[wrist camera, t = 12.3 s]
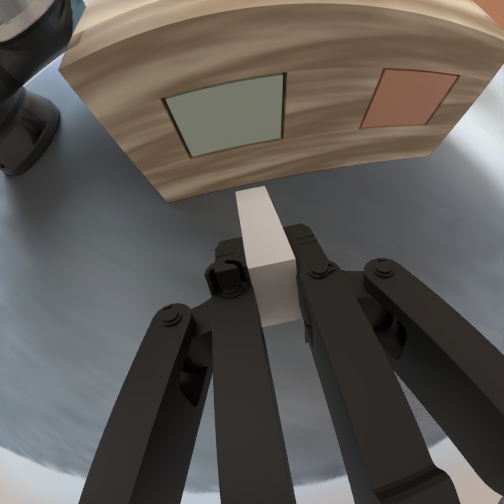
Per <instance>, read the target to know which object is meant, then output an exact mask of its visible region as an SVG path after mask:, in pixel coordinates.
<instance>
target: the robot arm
mask: <svg viewBox="0 0 504 504" xmlns="http://www.w3.org/2000/svg"><path fill="white" fill-rule="evenodd" d="M85 8H86V6H85V3H84V2H83V0H0V170H1V171H3V172H4V173H6V174H8V175H10V176H15V175H18V174H21V173H22V172H24V171H25V170H27V169H28V168H29V167H30V166H31V165H32V164H34V162H35V161H36V160H37V159H38V158H39V157H40V156H41V154H42V153H43V152H44V150H45V149H46V147H47V146H48V144H49V143H50V141H51V139H52V137H53V135H54V133H55V131H56V128H57V125H58V121H59V111H58V108H57V107H56V106H55V105H54V104H53V103H52V102H51V101H50V100H49V99H46V98H44V97H42V96H39V95H37V94H34V93H32V92H30V91H27V90H26V89H25V88H24V87H23V85H24V84H25V83H26V82H27V81H28V80H30V79H31V78H32V77H33V76H34V75H36V74H37V73H38V72H39V71H40V70H42V69H43V68H44V67H45V66H47V65H48V64H49V63H51V62H52V61H53V60H55V59H56V58H57V57H59V56H60V55H61V54H63V53H64V52H65V51H66V49H67V46H68V44H69V42H70V39H71V37H72V35H73V33H74V31H75V29H76V26H77V24H78V22H79V20H80V18H81V16H82V14H83V12H84V10H85ZM235 193H236V200H237V206H238V213H239V219H240V225H241V231H242V237H240V238H235V239H230V240H226V241H221V242H220V243H219V244H218V246H217V248H216V249H215V257H216V258H215V262H214V263H213V264H211V265H210V266H209V267H208V268H207V269H206V272H205V278H206V280H207V283H208V286H209V289H210V292H211V295H212V297H211V298H210V299H209V300H208V301H206V302H205V303H203V304H201V305H199V306H197V307H195V308H193V309H189V307H188V306H186V305H185V304H179V303H176V304H170V305H168V306H165V307H163V308H162V309H161V310H159V311H158V312H157V313H156V315H155V316H154V317H153V319H152V322H151V324H150V326H149V328H148V330H147V332H146V334H145V336H144V339H143V341H142V343H141V345H140V347H139V350H138V352H137V354H136V356H135V358H134V361H133V363H132V365H131V367H130V370H129V372H128V374H127V377H126V379H125V381H124V383H123V386H122V388H121V391H120V393H119V395H118V398H117V400H116V402H115V405H114V407H113V410H112V412H111V415H110V417H109V420H108V422H107V425H106V427H105V430H104V432H103V435H102V438H101V440H100V443H99V446H98V448H97V451H96V454H95V456H94V459H93V462H92V465H91V468H90V470H89V473H88V476H87V479H86V482H85V485H84V488H83V491H82V494H81V497H80V500H79V504H180V502H181V498H182V494H183V490H184V486H185V482H186V478H187V474H188V470H189V465H190V461H191V457H192V453H193V449H194V445H195V441H196V437H197V433H198V429H199V425H200V421H201V417H202V413H203V409H204V405H205V401H206V397H207V393H208V389H209V385H210V381H211V377H212V373H213V387H214V410H215V430H216V447H217V462H218V475H219V488H220V499H221V504H296V499H295V494H294V489H293V484H292V479H291V473H290V468H289V463H288V458H287V453H286V448H285V442H284V437H283V432H282V427H281V422H280V416H279V411H278V406H277V401H276V395H275V390H274V385H273V380H272V374H271V369H270V364H269V359H268V353H267V348H266V343H265V338H264V334H263V329H262V327H267V326H272V325H277V324H281V323H286V322H290V321H295V320H299V319H302V316H303V319H304V327H305V340H306V343H307V342H309V345H310V348H311V351H312V355H313V358H314V361H315V364H316V368H317V371H318V374H319V378H320V381H321V384H322V388H323V391H324V394H325V398H326V401H327V404H328V408H329V411H330V415H331V418H332V422H333V425H334V428H335V432H336V436H337V439H338V443H339V446H340V450H341V453H342V457H343V461H344V464H345V468H346V471H347V475H348V479H349V483H350V486H351V490H352V494H353V498H354V502H355V504H460V501H459V498H458V495H457V492H456V489H455V486H454V484H453V482H452V480H451V478H450V477H449V475H448V474H447V473H446V472H445V471H443V470H441V469H439V468H437V467H436V466H435V464H434V463H433V461H432V459H431V457H430V454H429V451H428V449H427V446H426V444H425V441H424V439H423V436H422V434H421V431H420V429H419V427H418V424H417V422H416V420H415V417H414V415H413V413H412V410H411V408H410V406H409V404H408V401H407V399H406V397H405V395H404V392H403V390H402V388H401V386H400V384H399V382H398V380H397V377H396V375H395V373H394V371H395V372H396V374H397V375H398V376H399V377H400V378H401V380H402V381H403V382H404V383H405V384H406V386H407V387H408V388H409V389H410V390H411V392H412V393H413V394H414V395H415V396H416V398H417V399H418V400H419V401H420V402H421V404H422V405H423V406H424V407H425V409H426V410H427V411H428V412H429V414H430V415H431V416H432V417H433V418H434V420H435V421H436V422H437V423H438V425H439V426H440V427H441V428H442V430H443V431H444V432H445V433H446V435H447V436H448V437H449V438H450V440H451V441H452V442H453V443H454V445H455V446H456V447H457V449H458V450H459V451H460V452H461V454H462V455H463V456H464V458H465V459H466V460H467V462H468V463H469V464H470V465H471V467H472V468H473V469H474V471H475V472H476V473H477V475H478V476H479V477H480V478H481V479H482V480H483V481H484V483H485V484H486V485H488V486H489V487H490V488H491V489H492V490H494V491H495V492H497V493H498V494H500V495H502V496H503V497H502V498H501V499H500V501H499V503H498V504H504V355H503V354H502V353H501V352H500V351H499V350H498V349H497V348H496V347H495V346H494V345H492V344H491V343H490V342H489V341H488V340H487V339H486V338H485V337H484V336H483V335H482V334H481V333H480V332H479V331H478V330H477V329H475V328H474V327H473V326H472V325H471V324H470V323H469V322H468V321H467V320H466V319H464V318H463V317H462V316H461V315H460V314H459V313H458V312H457V311H455V310H454V309H453V308H452V307H451V306H450V305H449V304H447V303H446V302H445V301H444V300H443V299H442V298H440V297H439V296H438V295H437V294H436V293H434V292H433V291H432V290H431V289H430V288H428V287H427V286H426V285H425V284H424V283H422V282H421V281H420V280H419V279H417V278H416V277H415V276H414V275H412V274H411V273H410V272H409V271H407V270H406V269H405V268H404V267H402V266H401V265H400V264H398V263H397V262H395V261H393V260H390V259H386V258H378V259H374V260H371V261H370V262H368V263H367V264H366V265H365V267H364V271H344V270H340V268H339V267H338V266H337V265H336V264H335V263H334V262H332V261H329V260H328V259H327V257H326V255H325V254H324V252H323V250H322V248H321V247H320V245H319V243H318V242H317V240H316V238H315V236H314V234H313V233H312V231H311V229H310V228H309V227H307V226H305V225H304V224H297V225H293V226H288V227H282V225H281V223H280V220H279V218H278V216H277V213H276V211H275V209H274V206H273V204H272V202H271V199H270V197H269V195H268V192H267V190H266V188H265V186H261V187H256V188H251V189H246V190H241V191H237V192H235ZM301 313H302V316H301ZM393 370H394V371H393Z"/></svg>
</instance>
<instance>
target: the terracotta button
mask: <svg viewBox="0 0 504 504" xmlns="http://www.w3.org/2000/svg"><path fill="white" fill-rule="evenodd" d="M456 78H457V75H456V74H449V73H442V72H434V71H425V70H413V69H399V68H383V71H382V73H381V76H380V78H379V81H378V83H377V86H376V88H375V91H374V93H373V96H372V98H371V100H370V103H369V105H368V108H367V110H366V112H365V115H364V117H363V119H362V122H361V124H360V126H361V128H363V127H375V126H389V125H409V124H425V123H426V122H427V120H428V119H429V118H430V116H431V115H432V113H433V112H434V110H435V109H436V108H437V106H438V105H439V103H440V102H441V100H442V99H443V97H444V96H445V94H446V93H447V91H448V90H449V88H450V87H451V85H452V84H453V82H454V81H455V79H456Z"/></svg>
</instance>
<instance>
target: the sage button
mask: <svg viewBox="0 0 504 504" xmlns="http://www.w3.org/2000/svg"><path fill="white" fill-rule="evenodd" d="M282 89H283V74H282V73H276V74H268V75H262V76H255V77H249V78H244V79H238V80H233V81H228V82H223V83H218V84H214V85H209V86H205V87H201V88H197V89H193V90H189V91H185V92H182V93H178V94H174V95H171V96H167V97H165V100H166V102H167V104H168V106H169V108H170V111H171V113H172V115H173V117H174V119H175V121H176V123H177V125H178V128H179V130H180V132H181V134H182V136H183V138H184V140H185V142H186V145H187V147H188V149H189V151H190V153H191V155H192V157H194V156H198V155H202V154H206V153H210V152H214V151H218V150H223V149H227V148H232V147H237V146H241V145H246V144H251V143H256V142H262V141H267V140H273V139H278V138H280V137H281V115H282Z"/></svg>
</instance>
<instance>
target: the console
mask: <svg viewBox="0 0 504 504" xmlns="http://www.w3.org/2000/svg"><path fill="white" fill-rule="evenodd" d="M503 64H504V31H503V30H502V29H501V28H500V27H499V26H498V25H497V24H496V23H495V22H494V21H493V20H492V19H491V18H490V17H489V16H488V15H487V14H486V13H485V12H484V11H483V10H482V9H481V8H480V7H479V6H478V5H477V4H475V3H474V2H473V1H472V0H93V1H91V2H89V3H88V5H87V7H86V8H85V10H84V12H83V14H82V16H81V18H80V20H79V22H78V24H77V26H76V29H75V31H74V33H73V35H72V37H71V39H70V42H69V44H68V46H67V49H66V51H65V54H64V56H63V59H62V61H61V64H60V67H59V69H58V71H59V72H60V73H61V75H62V76H63V77H64V78H65V80H66V81H67V82H68V83H69V85H70V86H71V87H72V89H73V90H74V91H75V92H76V94H77V95H78V96H79V97H80V99H81V100H82V101H83V102H84V104H85V105H86V106H87V107H88V109H89V110H90V111H91V112H92V113H93V115H94V116H95V117H96V118H97V120H98V121H99V122H100V123H101V125H102V126H103V127H104V128H105V129H106V131H107V132H108V133H109V134H110V135H111V137H112V138H113V139H114V140H115V142H116V143H117V144H118V145H119V146H120V148H121V149H122V150H123V151H124V152H125V153H126V155H127V156H128V157H129V158H130V159H131V161H132V162H133V163H134V164H135V165H136V167H137V168H138V169H139V170H140V171H141V172H142V174H143V175H144V176H145V177H146V178H147V179H148V181H149V182H150V183H151V184H152V185H153V186H154V188H155V189H156V190H157V191H158V192H159V193H160V194H161V196H162V197H163V198H164V199H165V200H166V201H167V203H169V202H173V201H177V200H181V199H185V198H189V197H193V196H197V195H201V194H205V193H209V192H214V191H218V190H222V189H227V188H231V187H236V186H241V185H245V184H250V183H255V182H260V181H265V180H270V179H275V178H280V177H285V176H291V175H296V174H302V173H308V172H313V171H319V170H326V169H332V168H338V167H345V166H352V165H359V164H366V163H373V162H381V161H389V160H398V159H407V158H416V157H427V156H429V155H430V154H431V153H432V152H433V151H434V149H435V148H436V147H437V146H438V145H439V144H440V143H441V141H442V140H443V139H444V138H445V137H446V136H447V134H448V133H449V132H450V131H451V130H452V129H453V127H454V126H455V125H456V124H457V123H458V121H459V120H460V119H461V118H462V117H463V115H464V114H465V113H466V112H467V110H468V109H469V108H470V107H471V105H472V104H473V103H474V102H475V100H476V99H477V98H478V97H479V95H480V94H481V93H482V92H483V90H484V89H485V88H486V86H487V85H488V84H489V83H490V81H491V80H492V79H493V77H494V76H495V75H496V73H497V72H498V71H499V69H500V68H501V66H502V65H503ZM383 68H399V69H413V70H425V71H434V72H442V73H449V74H456V75H457V78H456V79H455V81H454V82H453V84H452V85H451V87H450V88H449V90H448V91H447V93H446V94H445V96H444V97H443V99H442V100H441V102H440V103H439V105H438V106H437V108H436V109H435V110H434V112H433V113H432V115H431V116H430V118H429V119H428V120H427V122H426V123H425V124H409V125H389V126H375V127H363V128H361V126H360V124H361V122H362V119H363V117H364V115H365V112H366V110H367V108H368V105H369V103H370V100H371V98H372V96H373V93H374V91H375V88H376V86H377V83H378V81H379V78H380V76H381V73H382V71H383ZM276 73H282V74H283V89H282V115H281V137H280V138H278V139H273V140H267V141H262V142H256V143H251V144H246V145H241V146H237V147H232V148H227V149H223V150H218V151H214V152H210V153H206V154H202V155H198V156H194V157H192V155H191V153H190V151H189V149H188V147H187V145H186V142H185V140H184V138H183V136H182V134H181V132H180V130H179V128H178V125H177V123H176V121H175V119H174V117H173V115H172V113H171V111H170V108H169V106H168V104H167V102H166V100H165V97H167V96H171V95H174V94H178V93H182V92H185V91H189V90H193V89H197V88H201V87H205V86H209V85H214V84H218V83H223V82H228V81H233V80H238V79H244V78H249V77H255V76H262V75H268V74H276Z"/></svg>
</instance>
